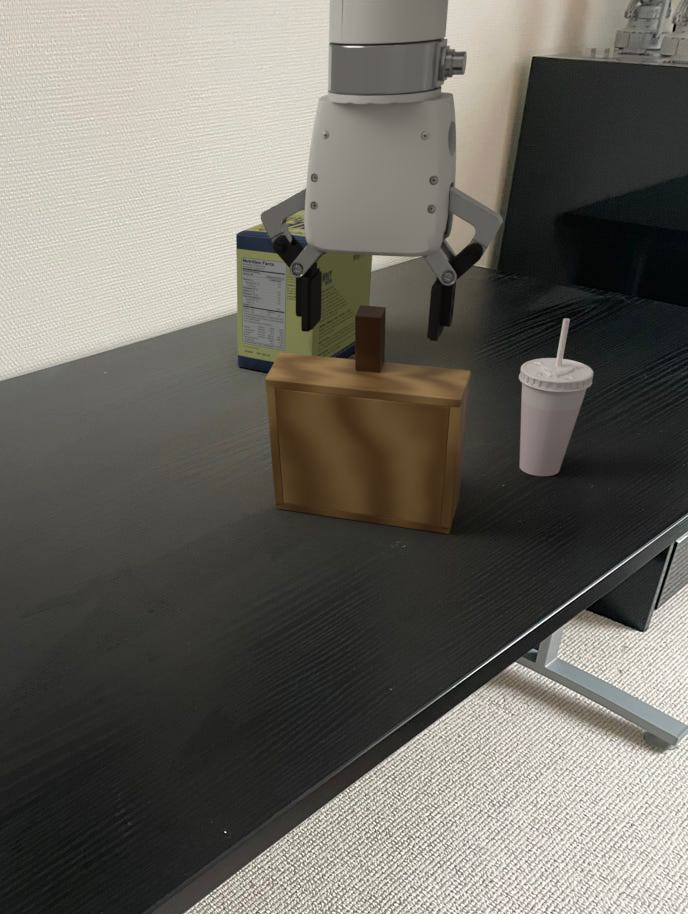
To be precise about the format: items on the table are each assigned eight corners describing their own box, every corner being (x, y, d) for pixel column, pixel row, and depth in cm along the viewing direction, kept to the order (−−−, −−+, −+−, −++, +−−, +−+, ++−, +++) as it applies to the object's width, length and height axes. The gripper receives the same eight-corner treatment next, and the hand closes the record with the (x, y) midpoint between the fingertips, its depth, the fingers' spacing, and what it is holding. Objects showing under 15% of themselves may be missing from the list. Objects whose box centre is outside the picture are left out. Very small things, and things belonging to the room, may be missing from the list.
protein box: (368, 343, 125) (377, 213, 116) (312, 382, 114) (316, 242, 105) (296, 332, 130) (298, 206, 121) (235, 368, 119) (233, 232, 110)
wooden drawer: (449, 534, 84) (458, 504, 86) (466, 343, 70) (476, 313, 73) (275, 508, 89) (288, 481, 91) (260, 325, 75) (275, 298, 77)
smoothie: (579, 459, 95) (608, 314, 87) (569, 487, 90) (599, 335, 82) (511, 450, 97) (534, 307, 89) (498, 476, 93) (521, 327, 85)
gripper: (526, 65, 65) (494, 323, 75) (277, 69, 71) (278, 309, 80) (512, 77, 59) (480, 355, 69) (243, 81, 65) (248, 338, 75)
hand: (372, 330), depth 75 cm, fingers open, 9 cm apart
